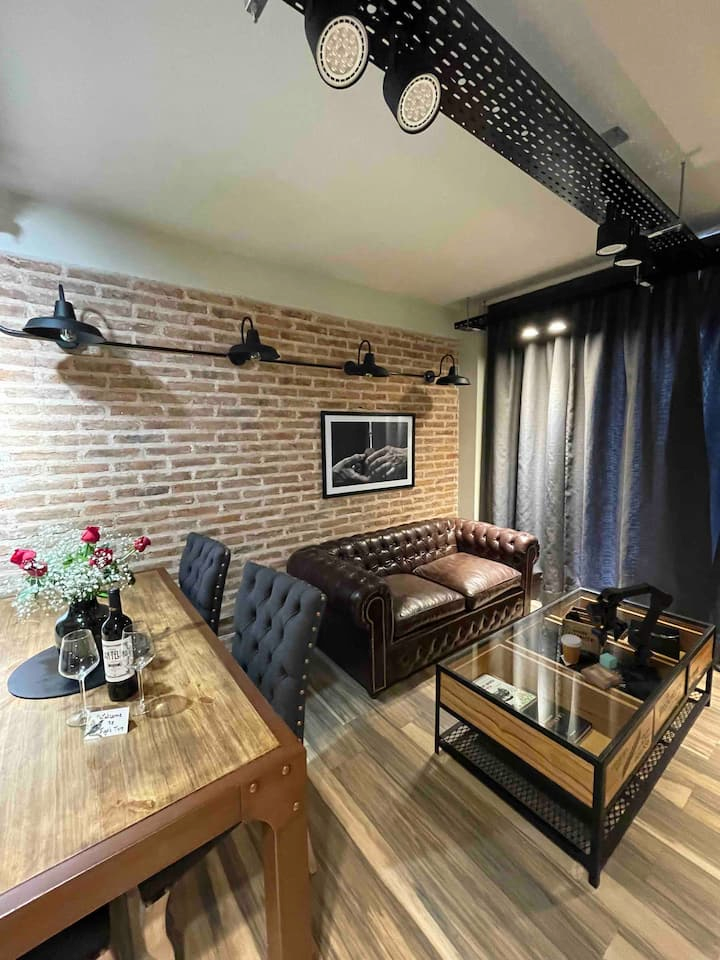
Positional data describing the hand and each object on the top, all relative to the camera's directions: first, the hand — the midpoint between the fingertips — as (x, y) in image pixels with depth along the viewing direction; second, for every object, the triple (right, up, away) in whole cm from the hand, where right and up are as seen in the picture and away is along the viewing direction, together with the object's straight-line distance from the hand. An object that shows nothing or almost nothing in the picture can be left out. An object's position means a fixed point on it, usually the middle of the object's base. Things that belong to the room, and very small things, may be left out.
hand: (609, 644), depth 196 cm
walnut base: (-8, -14, -6) cm, 17 cm away
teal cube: (+1, -12, +2) cm, 12 cm away
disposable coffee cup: (-14, -12, +8) cm, 20 cm away
